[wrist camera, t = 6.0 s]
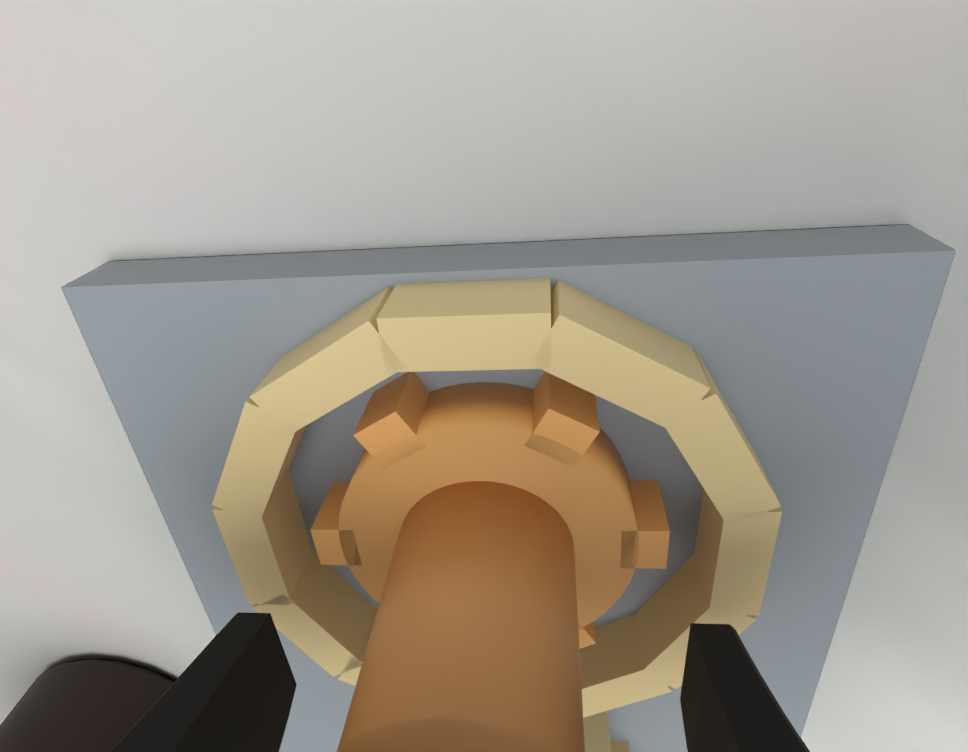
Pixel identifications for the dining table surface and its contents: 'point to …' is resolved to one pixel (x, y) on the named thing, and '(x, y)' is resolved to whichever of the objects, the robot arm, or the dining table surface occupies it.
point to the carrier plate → (522, 361)
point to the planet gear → (484, 561)
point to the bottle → (81, 707)
